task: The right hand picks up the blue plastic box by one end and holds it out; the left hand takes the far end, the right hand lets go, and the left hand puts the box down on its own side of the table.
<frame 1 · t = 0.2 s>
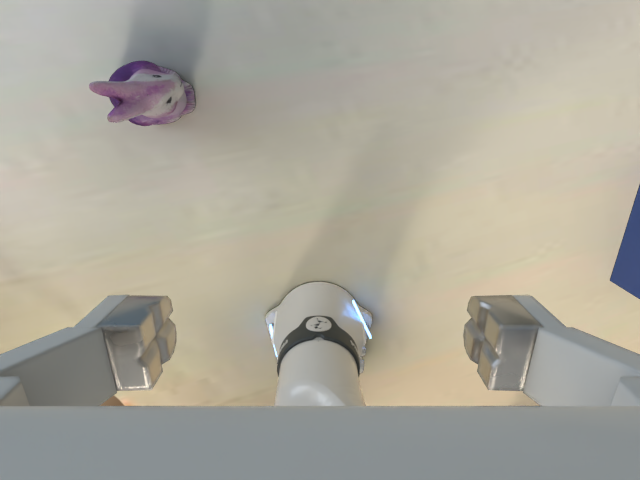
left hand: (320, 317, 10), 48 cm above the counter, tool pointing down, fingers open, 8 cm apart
figurine: (164, 93, 52), on the counter
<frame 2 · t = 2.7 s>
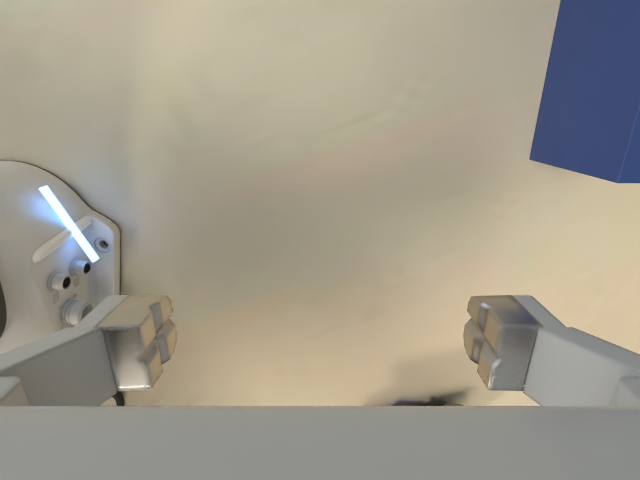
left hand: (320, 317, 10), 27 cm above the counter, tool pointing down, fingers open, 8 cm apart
box: (593, 23, 31), on the counter, touching right hand
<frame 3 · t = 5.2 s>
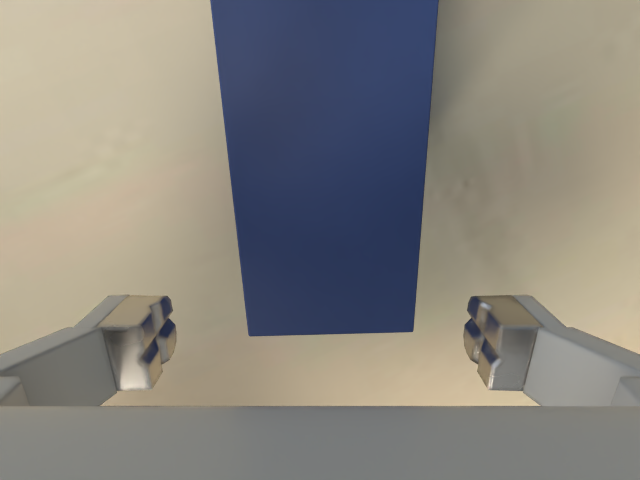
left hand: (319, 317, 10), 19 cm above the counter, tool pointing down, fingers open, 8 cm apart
box: (320, 41, 20), point 5 cm above the counter, touching right hand
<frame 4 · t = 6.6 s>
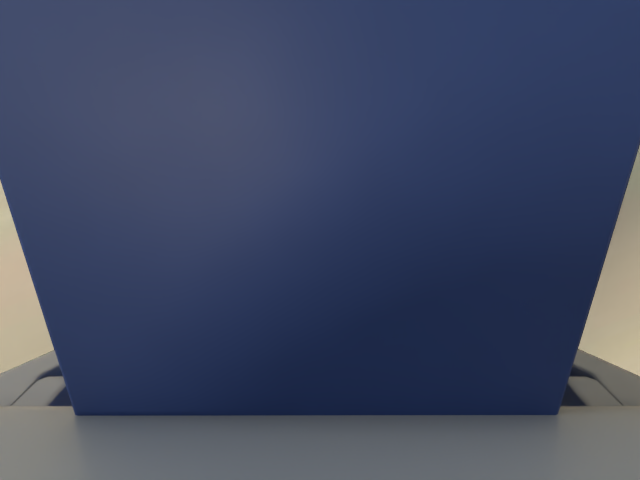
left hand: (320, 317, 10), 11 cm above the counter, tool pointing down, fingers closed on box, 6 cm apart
box: (317, 46, 13), point 5 cm above the counter, touching left hand, right hand
when the right hand's fingers open (12 cm above the counter, at t = 7.9 s): box moves 2 cm, held by the left hand.
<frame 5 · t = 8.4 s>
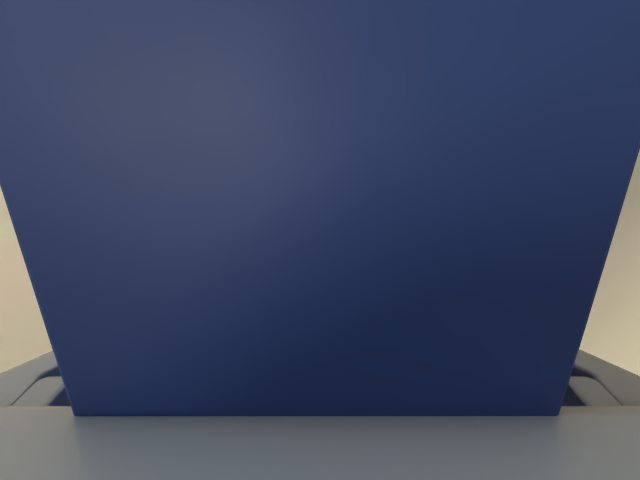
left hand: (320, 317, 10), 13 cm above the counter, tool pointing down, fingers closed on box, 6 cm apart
box: (318, 46, 13), point 7 cm above the counter, touching left hand
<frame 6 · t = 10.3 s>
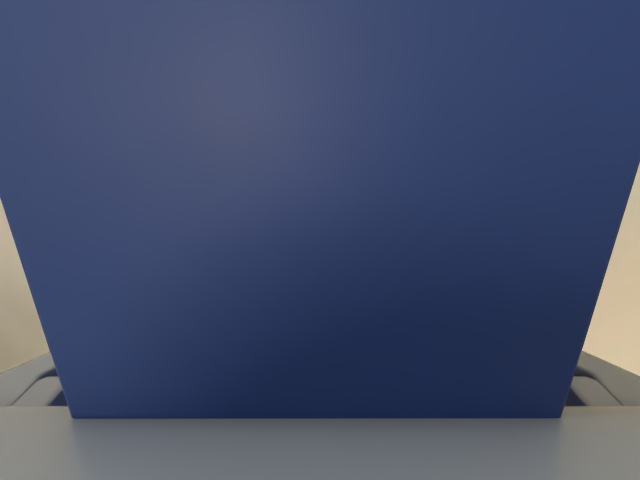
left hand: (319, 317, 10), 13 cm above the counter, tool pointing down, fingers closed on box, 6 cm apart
box: (318, 46, 13), point 8 cm above the counter, touching left hand
when the left hand's fingers open (8 cm above the counter, at t = 11.5 s): box drops 1 cm, on the counter.
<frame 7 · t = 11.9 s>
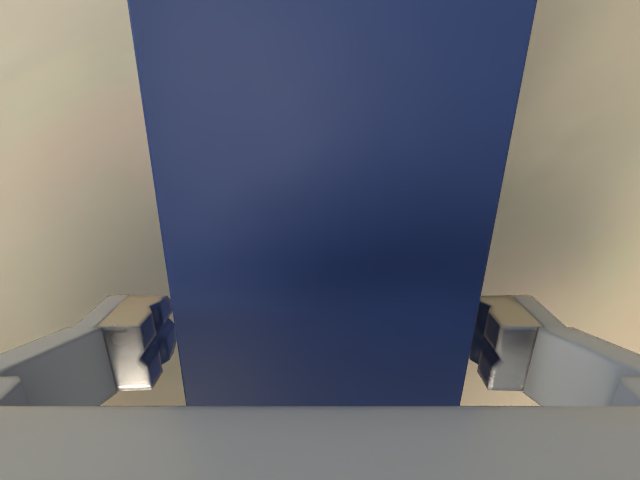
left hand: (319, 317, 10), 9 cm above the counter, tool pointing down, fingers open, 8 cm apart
box: (324, 88, 16), on the counter
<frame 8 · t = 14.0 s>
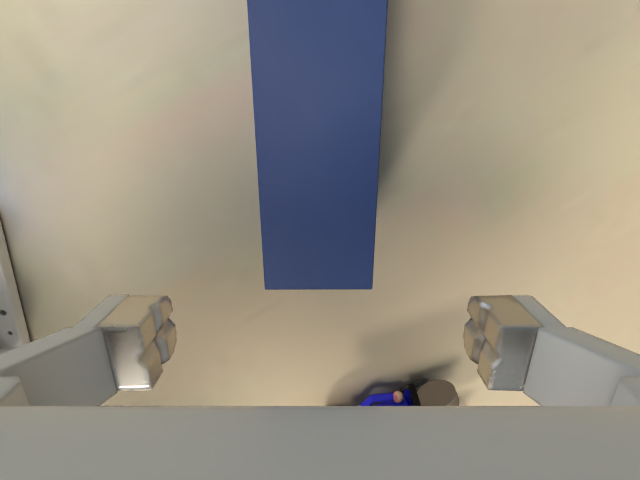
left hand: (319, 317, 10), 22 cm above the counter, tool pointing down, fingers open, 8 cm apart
figurine character: (380, 402, 39), on the counter
box: (318, 87, 28), on the counter
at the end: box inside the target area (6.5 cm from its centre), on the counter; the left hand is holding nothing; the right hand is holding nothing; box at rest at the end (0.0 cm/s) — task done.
